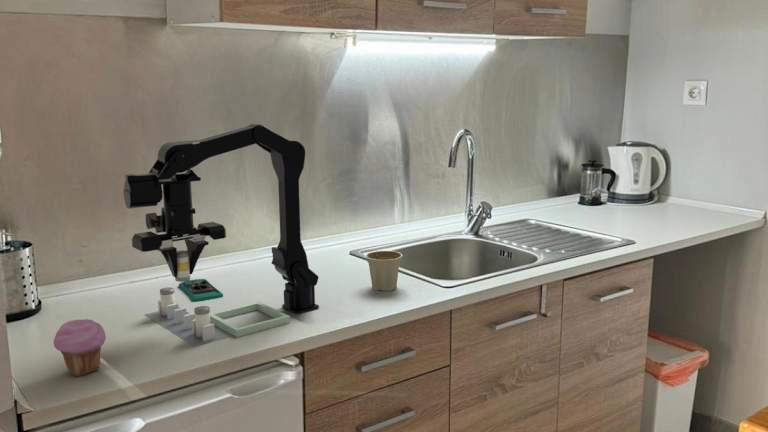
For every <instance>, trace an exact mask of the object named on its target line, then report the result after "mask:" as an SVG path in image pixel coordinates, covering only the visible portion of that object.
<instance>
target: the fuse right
mask: <svg viewBox="0 0 768 432" xmlns="http://www.w3.org/2000/svg"><path fill="white" fill-rule="evenodd" d="M193 310H194V312H193V313H195V325H196V338H199V339H202V326H204V325H208V324H211V322H210V314H211V308H210V306H208V305H200V306H196V307H194V308H193Z"/></svg>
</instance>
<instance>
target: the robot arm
mask: <svg viewBox="0 0 768 432" xmlns="http://www.w3.org/2000/svg"><path fill="white" fill-rule="evenodd" d="M252 145H253V146H254V145H257V146H258V147H259V148H261V149H262V150H264V151H265V152H267V153H268V154H269V155H270V159H271V163H272V168H273V170H274V172H275V174H276V177H277V180H278V181H277V183H278V185H277V186H278V209H279V210H278V211H279V212H278V213H279V214H278V215H279V242H278V244H277V247H276V246H275V247H273V246H272V247H271V254H272V261H271V265H273V266H274V269H275V270H276V272H277V273H278V274H280V275H281V277H282V279H283V280H284V281H286V282H285V283H284V290H283V303H282V304H281V307H282V308H283V309H285V310H288V311H290V312H293V313H295V314H300V313H303V312H307V311H312V310H316V309H318V308H320V305H319V304H317V303H316V298H315V297H316V295H315V292H316V289H315V287H316V286H317V285H318V281H319V277H320V276H319V275H317V273H315V272H314V271H313V270H311V269H310V268H309V262H308V258H307V253H306V250H305V248H304V246H303V243H302V239H301V210H300V209H301V205H300V203H301V202H300V178H301V175H302V173H303V170H304V168H305V160H306V148H305V147H304V145H303V143H301V142H300V141H297V140H294V139H288V138H285V137H283V136H281V135H280V134H278V133H276V132H274V131H272V130H270V129H269V128H268V127H266V126H265V125H262V124H258V123H251V124H249V125H247V126H244V127H240V128H237V129H233V130H229V131H226V132H223V133H219V134H215V135H213V136H208V137H205V138H202V139H194V140H181V141H180V140H179V141H171V142H170V141H169V142H166V143H163V144H162V145H161V146H160V148H159V150H158V152H157V159H156V161H155V162H154V164H153V165H152V167H151V168H150V170H149V171H148V173H143V174H141V173H139V174H134V173H133V174H132V173H130V174H125V175H124V177H125V178H124V179H125V181H124V185H123V186H124V187H123V188H124V189H122V190H123V199H124V203H125V206H126V208H127V209H129V210H130V209H138V208H146V207H147V208H148V207H157V206H158V204H159V203H161V201H162V200H163V207H161V210H160V212H161V213H160V215H158V214H157V212H151V213H146V214H145V225H146V229H148V230H151V229H154V230H155V232H152V231H144V232H138V233H134V234H133V236H132V238H131V244H132V248H134V249H136V250H138V251H140V252H144V253H145V252H146V253H147V252H151V251H152V252H153V251H159V252H160V253H161V254H162V256H163V257H164V260H165V262H166V263H167V266H168V268H169V270H170V273H171V274H172V276H173V278H175V277H177V251H178V249H177V247H174V246H173V242H179V241H184V243H185V245H186V246H185V247H186V251H189V263H190V275H192V274H193V273H194V270H195V267H196V265H197V262H198V261H199V259H200V255H201V254H202V252H203V251H204V249H205V246H208V245H209V243H210V242H209V241H207V240H206V237H209V238H211V239H212V240H214V241H215V240H216V241H217V240H221V239H225V238H227V229H226V228H225V226H224V225H223V224H220V223H217V222H215V221H210V222H209V221H208V222H204V223H198V225H197V227H195V226H194V214H196V208H193V195H192V193H193V192H192V183H193V182H200V181H201V180H202V178H201V176H199V175H197V174H196V173H195V171H194V170H193V168H195V167H197V166H198V165H200V164H201V163H202V162H204V161H205V160H208V159H210V158H212V157H216V156H218V155H222V154H226V153H229V152H232V151H237V150H238V149H239V150H240V149H243V148H247V147H251V146H252ZM159 233H160V234H159ZM161 233H162V234H161Z"/></svg>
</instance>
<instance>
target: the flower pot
mask: <svg viewBox="0 0 768 432" xmlns="http://www.w3.org/2000/svg"><path fill="white" fill-rule="evenodd" d="M365 258H366V261H367V263H368V267H369V275H370V280H371V287H372V289H374V290H375V291H379V290H380V291H383V292H387V291H392V290H395V289H396V288H397V286H398V278H399V269H400V263H401V261H402V258H403V254H402V253H401V252H399V251H394V250H375V251H371V252H368V253H366V254H365Z"/></svg>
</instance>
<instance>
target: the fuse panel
mask: <svg viewBox="0 0 768 432" xmlns="http://www.w3.org/2000/svg"><path fill="white" fill-rule="evenodd" d="M157 308H158V310H157V311H154V312H149V313H145V314H144V316H146V317H148V318H149V319H150V320H152V321H154V323H156V324H158V325H160V326H161V327H163V328H165V329H166V330H168V331H169V332H171V333H173V334H174V335H176V336H177V337H178V338H180V339H182V340H183V341H185V342H186V343H188V344H189V345H191V346H192V347H198V346H202V345H206V344H210V343H213V342H217V341H220V340H225V339H227V338H230V337H231V336H230V335H228V334H227V333H224V332H223V331H221V330H219V329H217V327H215V324H213V323H210V324H208V325H204V326H202V339H199V338H196V325H195V313H194V312H191V313H189V312H188V311H187V308H186V307H179V304H178V303H176V302H175V304H171V305H167V317H162V314H161V312H162V310H161V299H160V300H157Z"/></svg>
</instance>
